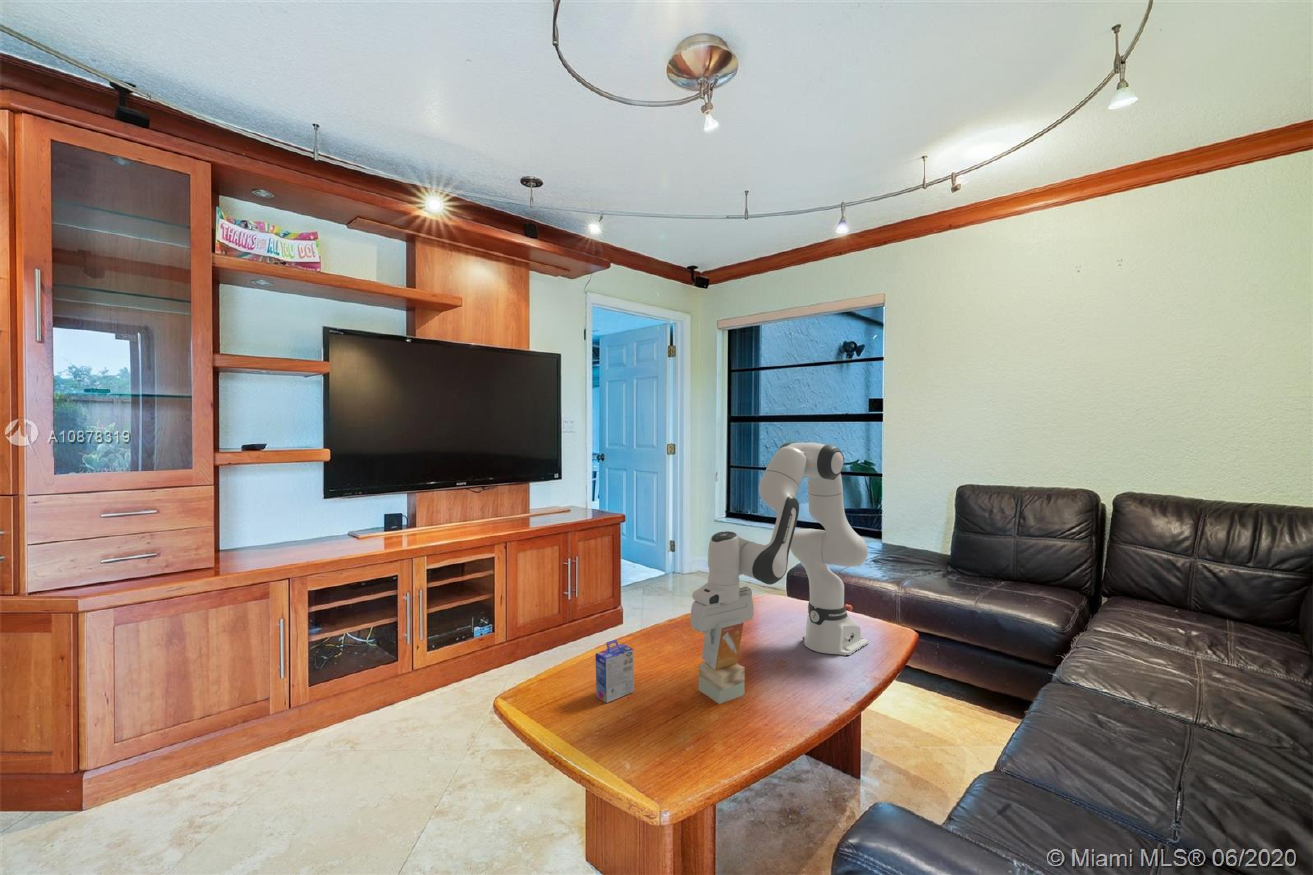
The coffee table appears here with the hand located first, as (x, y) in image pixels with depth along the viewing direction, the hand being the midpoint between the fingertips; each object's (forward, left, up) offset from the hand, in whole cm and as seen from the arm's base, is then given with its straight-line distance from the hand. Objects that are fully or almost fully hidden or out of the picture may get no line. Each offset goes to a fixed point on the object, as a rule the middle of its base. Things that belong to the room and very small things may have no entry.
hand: (722, 640), depth 153 cm
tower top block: (0, 0, -11) cm, 11 cm away
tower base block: (0, 0, -15) cm, 15 cm away
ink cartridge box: (+26, -15, -15) cm, 34 cm away
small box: (0, -2, -7) cm, 7 cm away
